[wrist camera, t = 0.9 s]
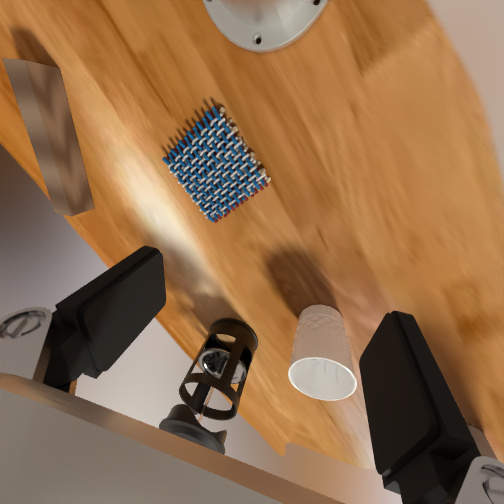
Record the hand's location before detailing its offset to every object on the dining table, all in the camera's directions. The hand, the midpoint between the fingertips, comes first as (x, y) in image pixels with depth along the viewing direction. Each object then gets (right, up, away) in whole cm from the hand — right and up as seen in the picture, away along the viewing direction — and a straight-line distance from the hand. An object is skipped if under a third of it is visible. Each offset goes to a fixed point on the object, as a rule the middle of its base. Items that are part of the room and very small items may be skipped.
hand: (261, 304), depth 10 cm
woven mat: (-5, +13, +20) cm, 24 cm away
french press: (-4, -14, +34) cm, 37 cm away
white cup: (+10, -8, +27) cm, 30 cm away
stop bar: (-26, +17, +23) cm, 39 cm away
